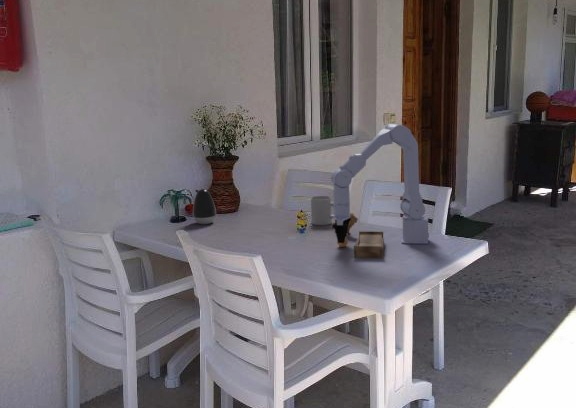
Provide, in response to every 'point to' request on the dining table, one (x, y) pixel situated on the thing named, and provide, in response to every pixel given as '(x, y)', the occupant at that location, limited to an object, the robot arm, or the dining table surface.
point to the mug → (321, 210)
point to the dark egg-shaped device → (204, 207)
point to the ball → (343, 243)
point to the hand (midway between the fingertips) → (342, 239)
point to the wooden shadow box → (369, 244)
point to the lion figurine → (351, 223)
